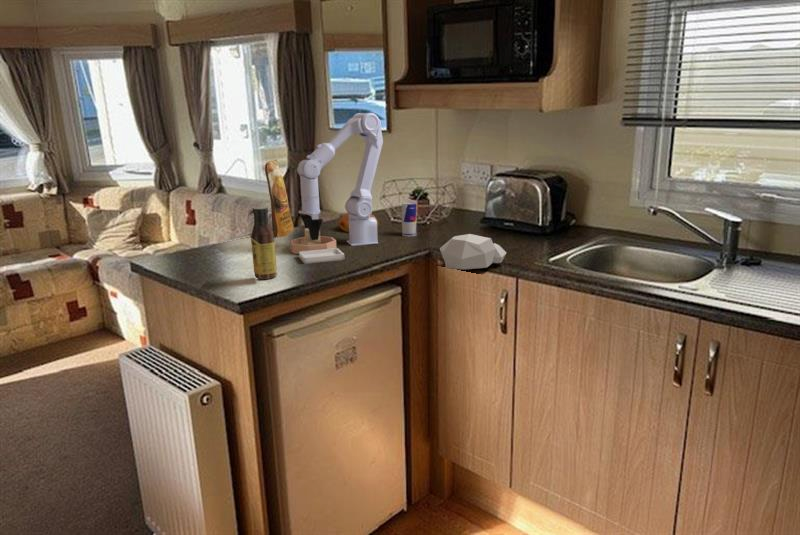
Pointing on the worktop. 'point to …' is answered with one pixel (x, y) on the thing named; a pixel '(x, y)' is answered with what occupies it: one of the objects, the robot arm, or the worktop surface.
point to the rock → (471, 252)
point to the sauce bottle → (263, 245)
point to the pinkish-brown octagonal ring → (300, 245)
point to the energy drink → (409, 219)
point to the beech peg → (308, 238)
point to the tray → (321, 255)
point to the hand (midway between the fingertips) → (312, 237)
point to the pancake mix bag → (278, 200)
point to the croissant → (345, 222)
